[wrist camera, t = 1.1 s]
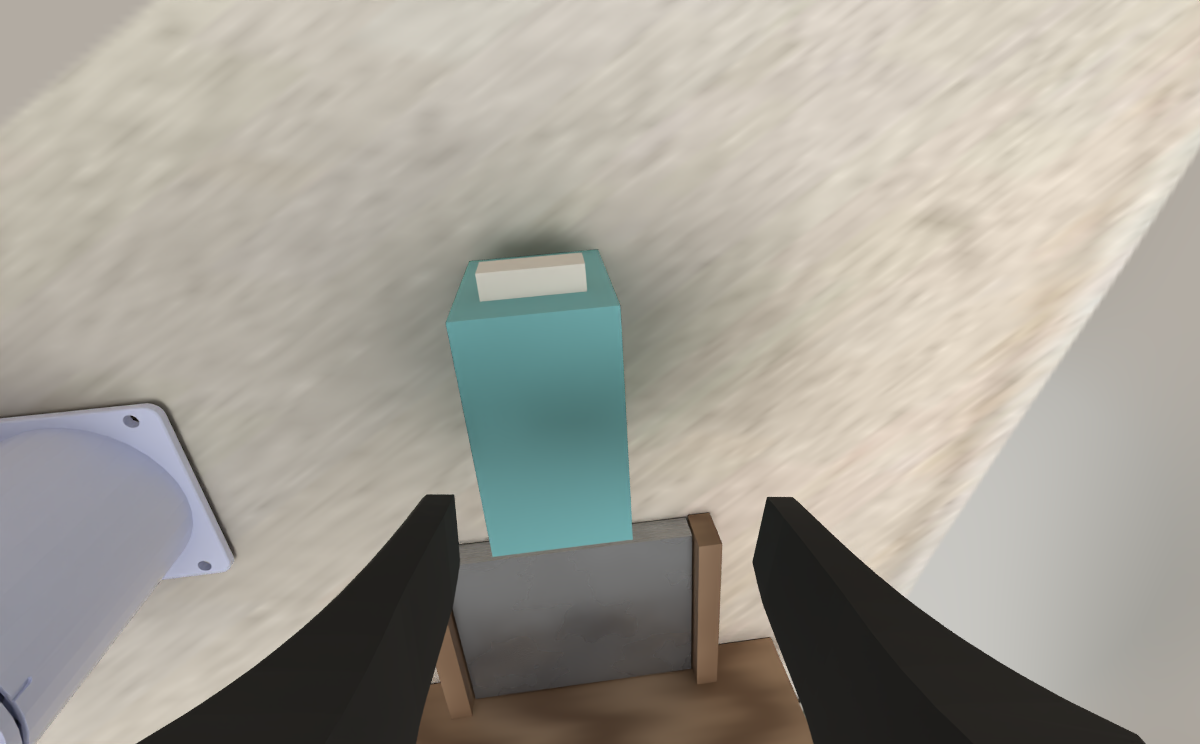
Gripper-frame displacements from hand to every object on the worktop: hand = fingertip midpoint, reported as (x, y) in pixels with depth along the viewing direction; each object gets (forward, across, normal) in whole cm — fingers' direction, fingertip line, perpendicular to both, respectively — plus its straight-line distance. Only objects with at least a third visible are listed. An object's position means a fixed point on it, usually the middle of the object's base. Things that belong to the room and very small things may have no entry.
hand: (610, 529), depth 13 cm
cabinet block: (+10, +2, 0) cm, 10 cm away
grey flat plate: (+9, 0, +13) cm, 16 cm away
